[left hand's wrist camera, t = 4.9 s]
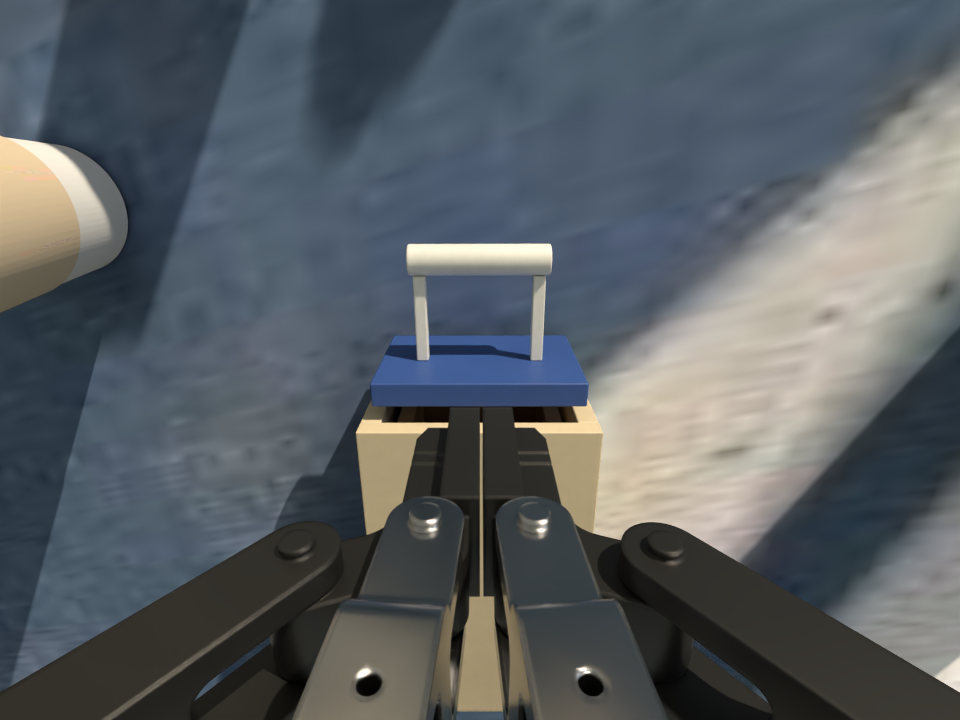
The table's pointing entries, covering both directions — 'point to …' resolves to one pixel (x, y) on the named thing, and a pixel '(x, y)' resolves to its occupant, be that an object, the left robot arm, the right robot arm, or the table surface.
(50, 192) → the coffee cup
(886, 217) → the table surface
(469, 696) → the tan open box
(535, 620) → the left robot arm
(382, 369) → the drawer
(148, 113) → the table surface
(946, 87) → the table surface
